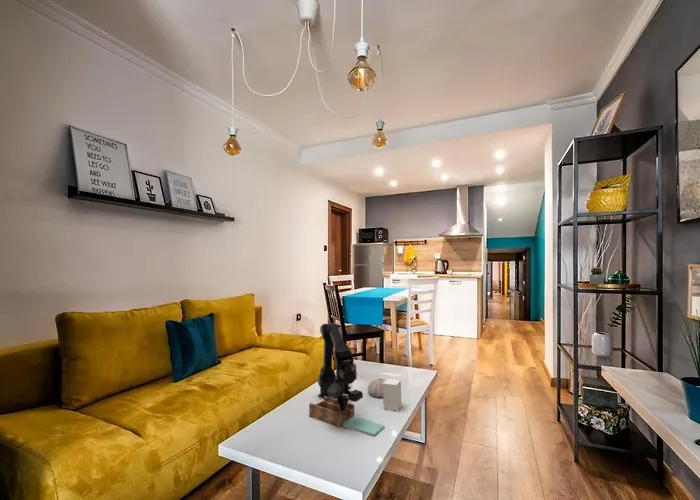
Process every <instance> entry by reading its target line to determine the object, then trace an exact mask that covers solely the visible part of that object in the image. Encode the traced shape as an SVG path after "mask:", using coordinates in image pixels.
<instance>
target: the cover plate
mask: <svg viewBox="0 0 700 500" xmlns="http://www.w3.org/2000/svg"><path fill="white" fill-rule="evenodd" d="M342 427H345V428H346V429H350V430H353V431H356V432H359V433H362V434H365V435H367V436H371V437H374V438H375V437H376V436H377V435H378V434H380V433H381V432H382V431H383V430H384V429H385V425H383V424H381V423H377V422H374V421H372V420H368V419H366V418H365V419H364V418H360V417H358V416H355V415H354V416H353V417H352V418H350V419H349V420H347V421H346V422H345V423H343V425H342Z"/></svg>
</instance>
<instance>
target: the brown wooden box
mask: <svg viewBox="0 0 700 500" xmlns="http://www.w3.org/2000/svg"><path fill="white" fill-rule="evenodd" d="M308 406H309V407H308V410H309V412H308V413H309V414H308V415H309V416H308V417H310V418H312V419H315V420H318V421H322V422H323V423H326V424H330V425H332V426H335V427H336V428H337V427H338V428H341V427H343V423H345V422H346V421H347V420H349V419H350V418H352V417H353V416H355V404H353V403H349V402H348V403H347V405H346V407H345V410H344V411H341V409H340V406H339V403H338V400H337V399H334V398H332V397H327V396H324V398H323V399H322V401H319V402H317V403H312V402H310V403H309V404H308Z"/></svg>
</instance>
